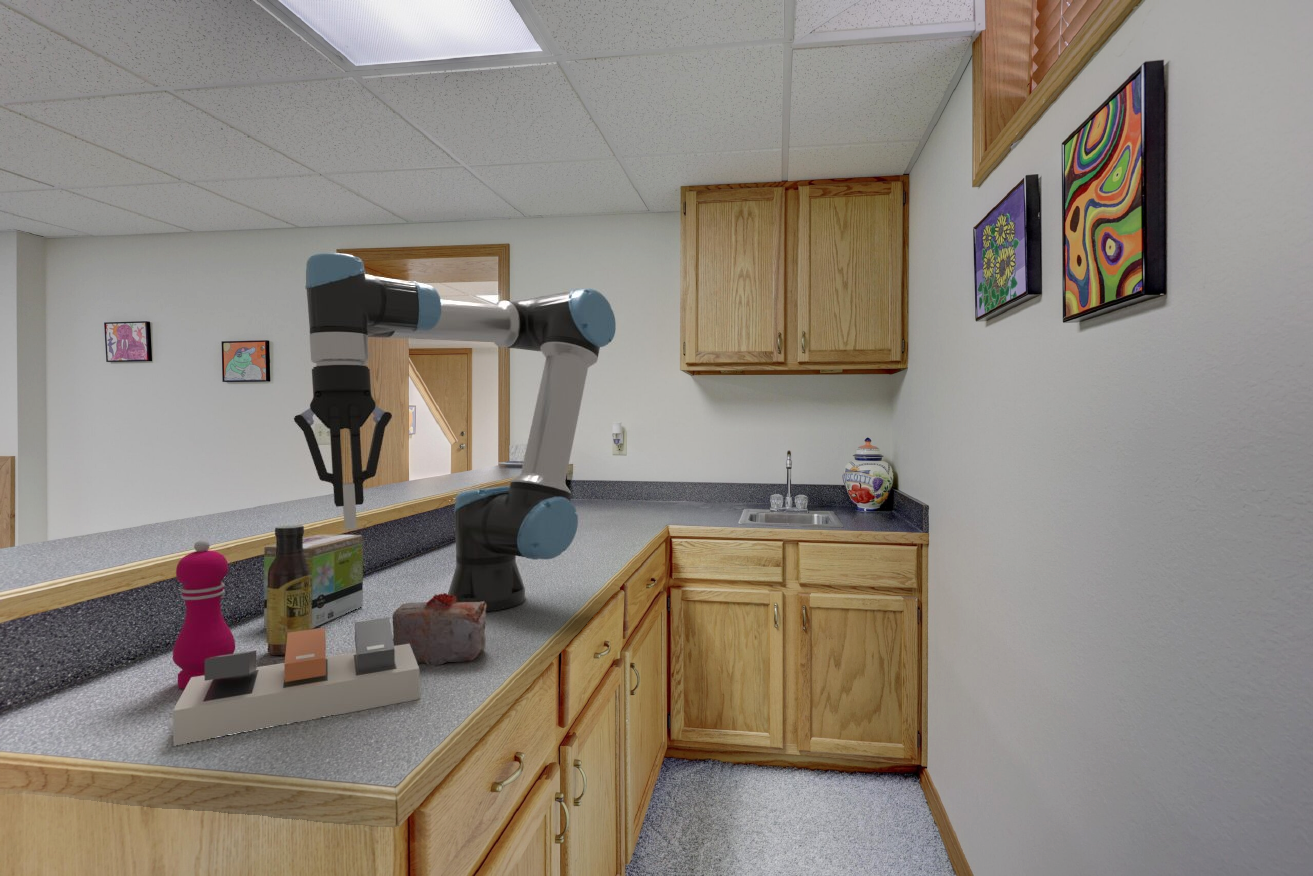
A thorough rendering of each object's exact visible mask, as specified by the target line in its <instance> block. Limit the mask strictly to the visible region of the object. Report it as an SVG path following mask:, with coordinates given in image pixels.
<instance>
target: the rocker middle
mask: <svg viewBox="0 0 1313 876" xmlns="http://www.w3.org/2000/svg"><path fill="white" fill-rule="evenodd" d="M326 644H327V643H326V627H320V628H313V629H311V630H304V631H297V632H289V633H288V634H287V644H286V653H285V655H284V662H283V663H284V667H285V682H289V681H295V680H301V679H307V678H313V677H319V676H325V675H326V656H327V655H326V654H327V652H326Z"/></svg>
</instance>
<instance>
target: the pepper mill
mask: <svg viewBox="0 0 1313 876" xmlns="http://www.w3.org/2000/svg"><path fill="white" fill-rule="evenodd" d="M210 546H211V545H210V542H209V541H207V540H206V539H199V540H197V541H196V542H195V543H194V546H193V548H194V550H195V551H194V552H190V553H188V554H185V556H183V557H182V558H181V559H179V561H178V563H177V565H176V570H175V575H176V576H175V577H176V578H177V580H178V582H180V583H181V584H182V586H183V587H182V588H181V589H180V592H181V596H180V598H181V599H182V600H184V604H185V617H184V622H183V625H182V627H181V630H180V632H179V634H178V636H177V639H176V641H175V644H174V646H173V650H172V661H173V663H174V664H175V666H177V667H179V669H180V670H179V672H178V673H177V687H178V688H179V689H180V690H183V691H184V690H185V688H186V686H187V684H188V682H189V681H190V679H191V677H197V676H203V675H205V659H207V658H211V657H215V656H221V655H227V654H234V653H235V650H236V641H235V637H234V634H233V633H232V631H231V629H230V627H229V626H228V624H227V623H226V621H225V619H224V617H223V614H222V605H221V601H222V595H223V594H225V592H226V591H225V588H224V587H225V583H224V582H222V581H223V579H224V578H226V576H227V574H228V571H229V563H228V561H227V558H226V557H225V556H224V555H223V554H222V553H221V552H218V551H215V550H209V549H210Z"/></svg>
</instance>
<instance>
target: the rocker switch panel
mask: <svg viewBox="0 0 1313 876" xmlns="http://www.w3.org/2000/svg"><path fill="white" fill-rule="evenodd" d="M394 648H395V665H392V666H386V667H380V668H374V669H368V670H362V671H357V659H356V651H353V652H347V653H339V654H335V655H326V675H325V676H319V677H313V678H307V679H301V680H295V681H289V682H285V667H284V663H285V662H282V663H276V664H275V663H274V664H268V665H261V666H256V670H255V671H253V672H251V673H250V674H245V675H238V676H232V677H226V678H219V679H213V680H207V681H205V675H203V676H197V677H191V679H190V681H189V682H188V684H187V686H186V688H185V690H183V692H182V693H181V695H180V697H179V699H178V701H177V702H176V705H175V706H174V708H173V709H172V730H173V731H172V732H173V734H172V735H173V739H172V740H173V747H177V746H176V745H178V746H183V745H187V743H189V744H191V743H190V742H194V743H197V742H196V741H199V742H203V741H202V740H204V741H206V740H205V739H209V740H211V739H210V738H215V737H217V736H224V735H228V734H234V733H238V732H244V731H250V730H256V729H260V728H266V727H270V726H277V725H282V724H287V723H292V722H298V723H301V721H303V722H307V720H308V721H311V720H312V719H313V720H316V719H315V718H318V719H321V718H320V717H323V716H329V717H332V716H331V715H334V716H337V715H338V714H339V715H343V714H348V713H354V712H358V711H365V710H370V709H375V708H380V707H384V706H390V705H394V704H401V703H406V702H411V701H417V700H421V697H420V695H421V694H420V693H421V691H420V690H421V689H420V688H421V687H420V685H421V683H420V666H419V665H418V664H419V663H417V661H416V659H415V656H414V654H413V651H412V648H411V646H410V644H404V645H397V646H394ZM313 720H312V721H313ZM287 725H288V724H287ZM282 726H283V725H282ZM277 727H278V726H277ZM256 731H257V730H256ZM215 739H216V738H215ZM182 744H183V745H182Z"/></svg>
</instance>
